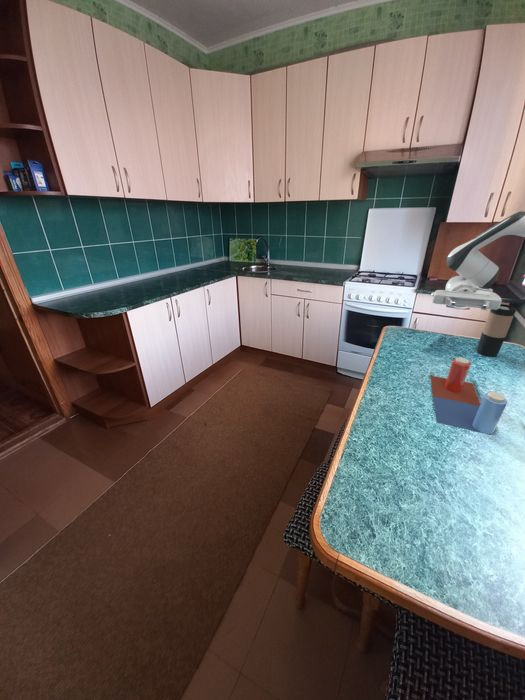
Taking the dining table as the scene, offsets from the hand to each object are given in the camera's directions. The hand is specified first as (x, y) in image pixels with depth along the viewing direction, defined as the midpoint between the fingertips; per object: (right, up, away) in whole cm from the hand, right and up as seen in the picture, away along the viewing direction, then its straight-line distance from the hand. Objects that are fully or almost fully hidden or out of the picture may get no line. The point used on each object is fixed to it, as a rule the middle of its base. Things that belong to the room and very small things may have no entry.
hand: (468, 306), depth 97 cm
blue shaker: (-8, -36, -17) cm, 41 cm away
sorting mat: (-8, -31, -6) cm, 33 cm away
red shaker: (-5, -28, 0) cm, 28 cm away
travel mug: (+23, -16, +23) cm, 36 cm away
